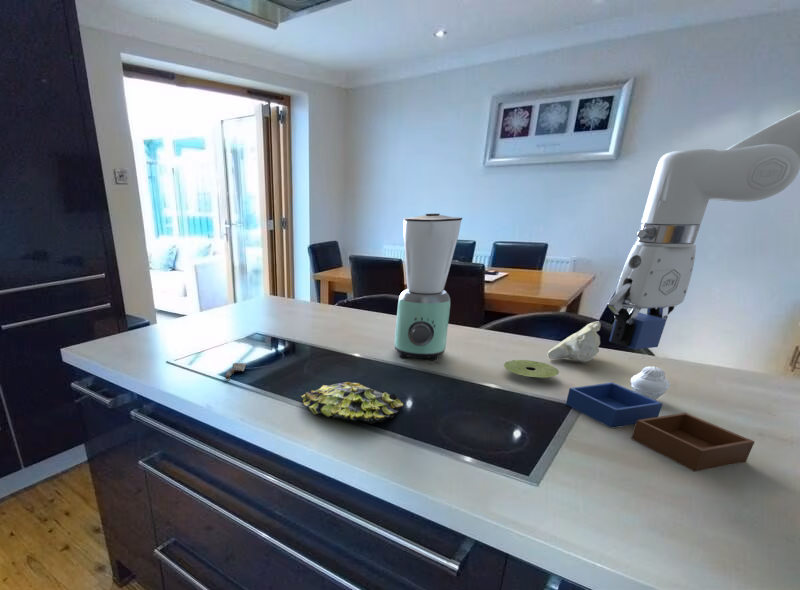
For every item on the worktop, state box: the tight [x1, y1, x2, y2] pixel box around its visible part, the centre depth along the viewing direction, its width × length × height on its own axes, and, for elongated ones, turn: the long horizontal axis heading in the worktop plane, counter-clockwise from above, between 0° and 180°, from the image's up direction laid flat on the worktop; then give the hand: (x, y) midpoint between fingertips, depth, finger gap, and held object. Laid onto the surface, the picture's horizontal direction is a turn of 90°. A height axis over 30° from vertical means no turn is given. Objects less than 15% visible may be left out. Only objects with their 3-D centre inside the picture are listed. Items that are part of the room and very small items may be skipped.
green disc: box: [503, 359, 560, 378], centre depth 101 cm, size 11×11×2 cm
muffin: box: [630, 366, 671, 401], centre depth 88 cm, size 6×6×7 cm
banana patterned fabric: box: [300, 381, 404, 424], centre depth 88 cm, size 20×16×6 cm
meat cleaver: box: [224, 362, 247, 380], centre depth 108 cm, size 12×1×5 cm
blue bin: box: [565, 382, 663, 429], centre depth 83 cm, size 10×10×4 cm
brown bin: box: [630, 412, 756, 472], centre depth 71 cm, size 10×10×4 cm
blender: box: [393, 212, 463, 362], centre depth 112 cm, size 19×13×35 cm
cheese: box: [546, 320, 601, 363], centre depth 110 cm, size 15×7×15 cm
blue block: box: [608, 312, 668, 350], centre depth 77 cm, size 5×5×5 cm
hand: (633, 341), depth 78 cm, fingers closed on blue block, 5 cm apart
